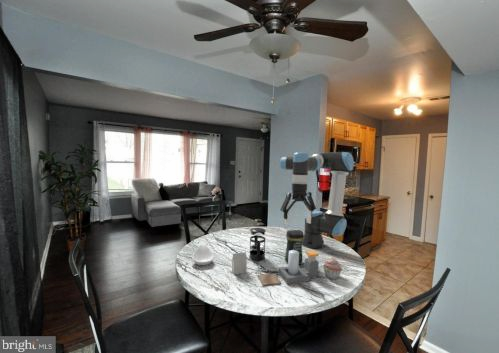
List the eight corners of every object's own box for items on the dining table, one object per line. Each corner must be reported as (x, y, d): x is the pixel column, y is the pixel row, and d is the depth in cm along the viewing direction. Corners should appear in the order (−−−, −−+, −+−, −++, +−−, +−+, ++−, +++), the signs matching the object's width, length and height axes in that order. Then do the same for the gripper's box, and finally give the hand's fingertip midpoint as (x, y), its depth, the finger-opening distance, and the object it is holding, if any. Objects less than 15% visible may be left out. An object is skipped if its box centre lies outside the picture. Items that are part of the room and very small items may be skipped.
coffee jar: (288, 265, 128) (289, 232, 126) (283, 259, 136) (284, 228, 134) (304, 264, 130) (306, 232, 128) (298, 258, 137) (300, 227, 136)
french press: (266, 261, 132) (268, 222, 131) (250, 262, 131) (251, 222, 129) (263, 253, 144) (264, 216, 142) (247, 253, 143) (248, 216, 141)
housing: (309, 269, 124) (310, 255, 123) (321, 280, 113) (322, 264, 112) (278, 273, 119) (278, 258, 119) (287, 284, 108) (287, 268, 108)
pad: (274, 274, 118) (274, 273, 117) (281, 283, 109) (281, 282, 109) (257, 276, 115) (257, 275, 115) (262, 286, 107) (263, 284, 107)
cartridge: (295, 274, 118) (296, 249, 117) (299, 279, 113) (300, 253, 112) (286, 275, 117) (287, 250, 116) (290, 280, 112) (291, 254, 111)
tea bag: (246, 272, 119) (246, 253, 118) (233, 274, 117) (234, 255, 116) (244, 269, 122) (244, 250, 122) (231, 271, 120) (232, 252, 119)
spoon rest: (214, 267, 125) (215, 254, 124) (192, 269, 122) (192, 255, 121) (210, 250, 147) (210, 239, 147) (191, 251, 144) (191, 240, 144)
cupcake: (324, 270, 124) (325, 252, 123) (343, 275, 119) (344, 256, 118) (320, 277, 116) (321, 258, 115) (339, 283, 111) (341, 263, 110)
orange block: (313, 261, 120) (313, 250, 120) (317, 265, 116) (318, 253, 115) (305, 262, 119) (305, 251, 118) (309, 266, 114) (310, 254, 114)
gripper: (314, 181, 126) (312, 220, 128) (274, 182, 116) (273, 224, 118) (324, 183, 119) (322, 223, 121) (282, 184, 110) (280, 228, 111)
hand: (297, 224), depth 120 cm, fingers open, 13 cm apart
